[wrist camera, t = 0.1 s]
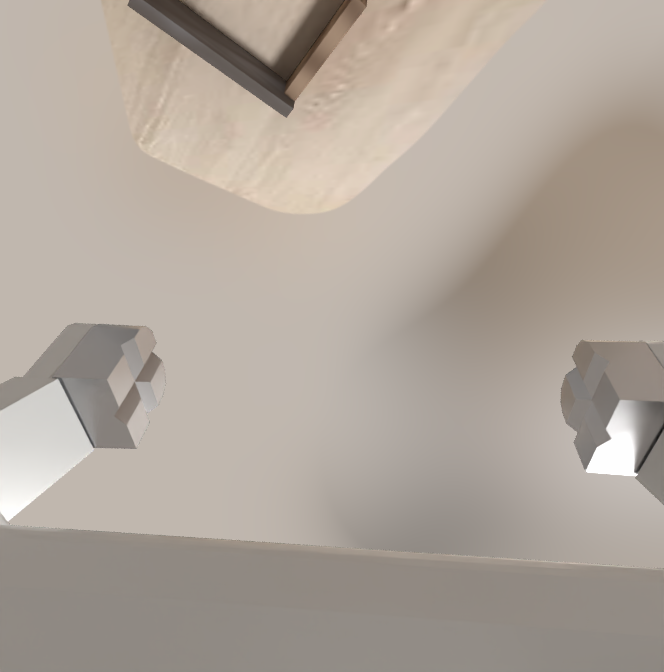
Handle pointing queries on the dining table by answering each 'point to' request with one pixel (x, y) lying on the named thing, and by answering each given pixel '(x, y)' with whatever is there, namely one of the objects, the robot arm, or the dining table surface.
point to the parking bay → (214, 47)
